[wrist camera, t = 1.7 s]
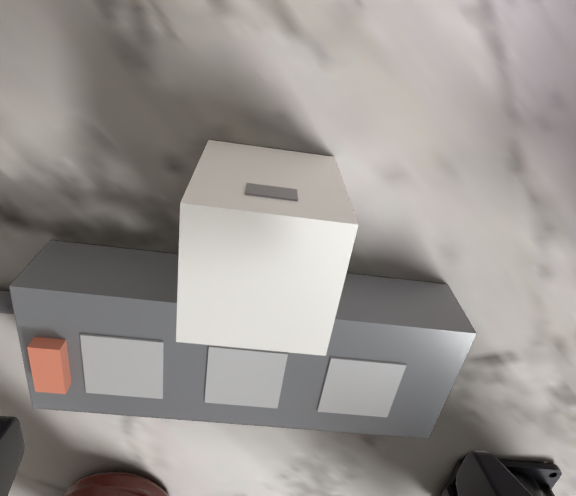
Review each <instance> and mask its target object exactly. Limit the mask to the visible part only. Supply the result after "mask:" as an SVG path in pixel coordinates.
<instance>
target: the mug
mask: <svg viewBox="0 0 576 496" xmlns="http://www.w3.org/2000/svg"><path fill="white" fill-rule="evenodd" d="M63 496H169V495H168V494H167V493H166V492H165V491H164V490H163V489H162V488H161V487H160V486H158V485H157V484H156V483H154V482H153V481H151V480H149V479H147V478H145V477H142V476H139V475H136V474H132V473H128V472H103V473H98V474H93V475H90V476H87V477H84V478H82V479H80V480H79V481H77V482H75V483H74V484H73V485H71V486H70V487H69V488H68V489H67V491H66V492H65V494H64V495H63Z"/></svg>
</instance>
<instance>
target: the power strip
mask: <svg viewBox="0 0 576 496" xmlns="http://www.w3.org/2000/svg"><path fill="white" fill-rule="evenodd" d="M178 257H179V254H171V253H162V252H153V251H144V250H135V249H126V248H117V247H108V246H99V245H90V244H81V243H72V242H63V241H54V240H50V241H49V242H48V243H47V245H46V246H45V247H44V248H43V249H42V250H41V251H40V252H39V253H38V255H37V256H36V257H35V258H34V259H33V260H32V261H31V262H30V263H29V265H28V266H27V267H26V268H25V269H24V270H23V271H22V272H21V273H20V275H19V276H18V277H17V278H16V279H15V280H14V281H13V282H12V283H11V284H10V286H9V289H10V291H1V290H0V313H6V314H14V315H15V320H16V325H17V330H18V335H19V341H20V346H21V351H22V356H23V361H24V367H25V372H26V377H27V382H28V387H29V393H30V398H31V403H32V408H37V409H49V410H62V411H75V412H88V413H101V414H114V415H126V416H139V417H152V418H165V419H178V420H191V421H204V422H216V423H229V424H242V425H255V426H268V427H281V428H293V429H306V430H319V431H332V432H345V433H358V434H370V435H383V436H396V437H409V438H422V439H429V437H430V435H431V433H432V430H433V428H434V426H435V424H436V422H437V419H438V417H439V415H440V413H441V411H442V408H443V406H444V404H445V402H446V400H447V397H448V395H449V393H450V391H451V389H452V386H453V384H454V382H455V380H456V378H457V375H458V373H459V371H460V369H461V367H462V364H463V362H464V360H465V358H466V356H467V353H468V351H469V349H470V347H471V345H472V342H473V340H474V338H475V336H476V332H475V330H474V328H473V327H472V325H471V323H470V322H469V320H468V318H467V316H466V315H465V313H464V311H463V310H462V308H461V306H460V305H459V303H458V301H457V299H456V298H455V296H454V294H453V293H452V291H451V289H450V287H449V286H448V284H440V283H431V282H422V281H413V280H404V279H395V278H386V277H377V276H368V275H359V274H350V273H346V277H345V281H344V285H343V289H342V293H341V297H340V301H339V305H338V309H337V313H336V317H335V321H334V325H333V329H332V333H331V337H330V341H329V345H328V349H327V353H326V356H321V355H311V354H300V353H289V352H279V351H268V350H257V349H246V348H236V347H225V346H214V345H204V344H193V343H182V342H176V322H177V290H178Z"/></svg>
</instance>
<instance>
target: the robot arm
mask: <svg viewBox="0 0 576 496" xmlns="http://www.w3.org/2000/svg"><path fill="white" fill-rule="evenodd" d="M23 453H24V440H23V436H22V431H21V427H20V423H19V420H18V419H17V418H16V417H9V416H0V496H8V493H9V491H10V488H11V485H12V483H13V480H14V478H15V475H16V472H17V470H18V467H19V465H20V462H21V459H22V457H23ZM561 474H562V473H561V471H560V469H559V467H558V466H557V465H555V464H546V463H532V462H519V461H505V460H498V459H497V458H496V457H495V456H494V455H493V454H492V453H490V452H488V451H479V450H471V451H469V452H468V453H467V455H466V457H465V458H464V459H461V460H460V461H459V462H458V464H457V465H456V467H455V469H454V471H453V473H452V475H451V477H450V479H449V481H448V483H447V485H446V486H445V488H444V490H443V492H442V494H441V496H555V495H554V494H553V492H552V490H551V489H552V487H553V486H554V485H555V483H556V482H557V480H558V479H559V478H560V476H561Z"/></svg>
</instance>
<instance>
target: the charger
mask: <svg viewBox="0 0 576 496" xmlns="http://www.w3.org/2000/svg"><path fill="white" fill-rule="evenodd" d="M357 229H358V222H357V219H356V216H355V213H354V210H353V208H352V205H351V202H350V199H349V196H348V194H347V191H346V188H345V185H344V182H343V179H342V177H341V174H340V171H339V168H338V165H337V163H336V160H335V157H332V156H324V155H317V154H309V153H302V152H295V151H287V150H280V149H272V148H265V147H258V146H250V145H243V144H236V143H228V142H221V141H213V140H208V142H207V144H206V147H205V149H204V151H203V153H202V156H201V158H200V160H199V162H198V164H197V167H196V169H195V171H194V173H193V176H192V178H191V180H190V182H189V184H188V187H187V189H186V191H185V193H184V196H183V198H182V200H181V202H180V225H179V257H178V290H177V322H176V342H182V343H193V344H204V345H214V346H225V347H236V348H246V349H257V350H268V351H279V352H289V353H300V354H311V355H321V356H326V353H327V349H328V345H329V341H330V337H331V333H332V329H333V325H334V321H335V317H336V313H337V309H338V305H339V301H340V297H341V293H342V289H343V285H344V281H345V277H346V273H347V269H348V265H349V261H350V257H351V253H352V249H353V245H354V241H355V237H356V233H357Z"/></svg>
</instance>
